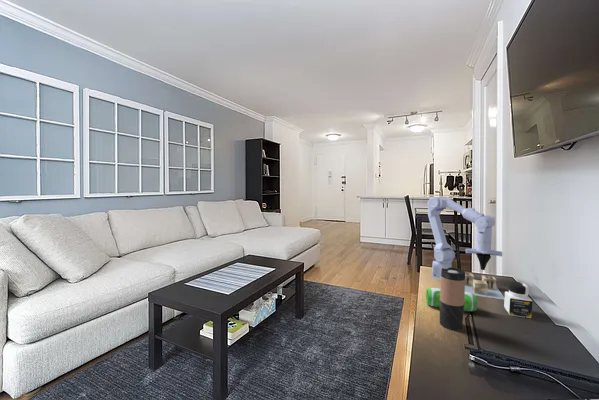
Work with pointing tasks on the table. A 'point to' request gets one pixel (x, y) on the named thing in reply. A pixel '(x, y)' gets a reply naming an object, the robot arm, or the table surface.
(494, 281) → the two bar block
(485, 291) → the plain block
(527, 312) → the medicine bottle
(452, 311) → the travel mug
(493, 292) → the mat
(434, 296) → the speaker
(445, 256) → the robot arm
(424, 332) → the table surface
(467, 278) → the one bar block
